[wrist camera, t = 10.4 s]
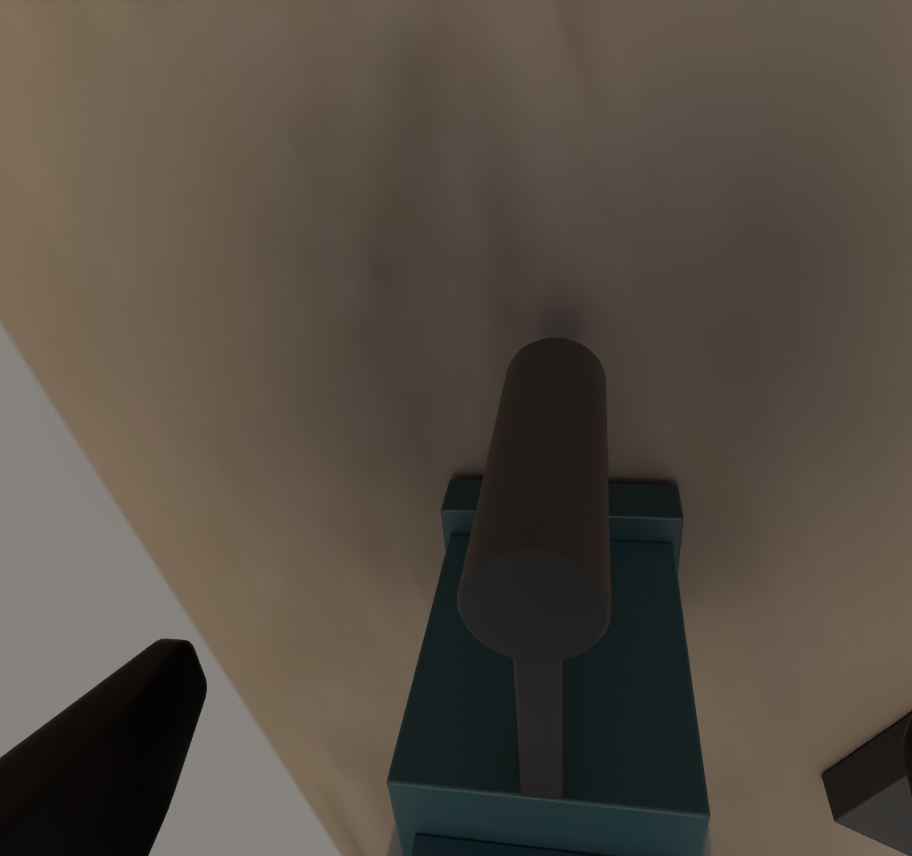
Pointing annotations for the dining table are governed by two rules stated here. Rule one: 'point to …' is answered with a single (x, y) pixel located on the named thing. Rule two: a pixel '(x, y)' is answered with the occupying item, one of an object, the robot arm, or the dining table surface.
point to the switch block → (874, 791)
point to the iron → (553, 648)
